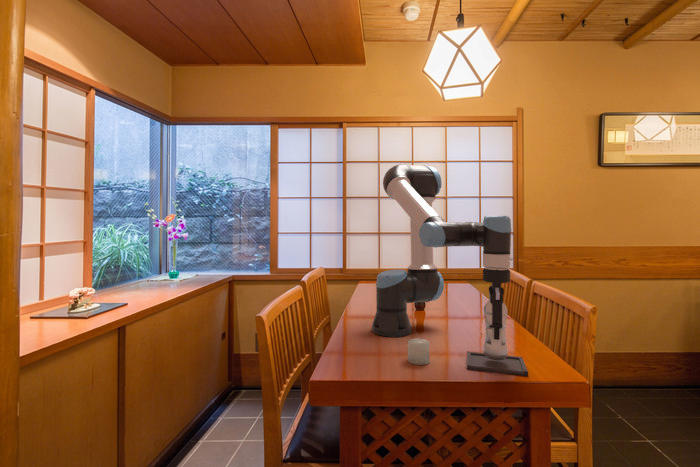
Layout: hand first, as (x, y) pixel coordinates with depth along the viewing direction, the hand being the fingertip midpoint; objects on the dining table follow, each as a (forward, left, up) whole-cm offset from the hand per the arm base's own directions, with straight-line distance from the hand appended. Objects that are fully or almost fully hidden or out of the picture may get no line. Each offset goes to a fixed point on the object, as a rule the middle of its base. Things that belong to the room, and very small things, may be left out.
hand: (495, 345), depth 110 cm
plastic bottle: (0, 0, -4) cm, 4 cm away
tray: (0, 0, -6) cm, 6 cm away
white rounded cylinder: (-22, -4, -6) cm, 23 cm away
